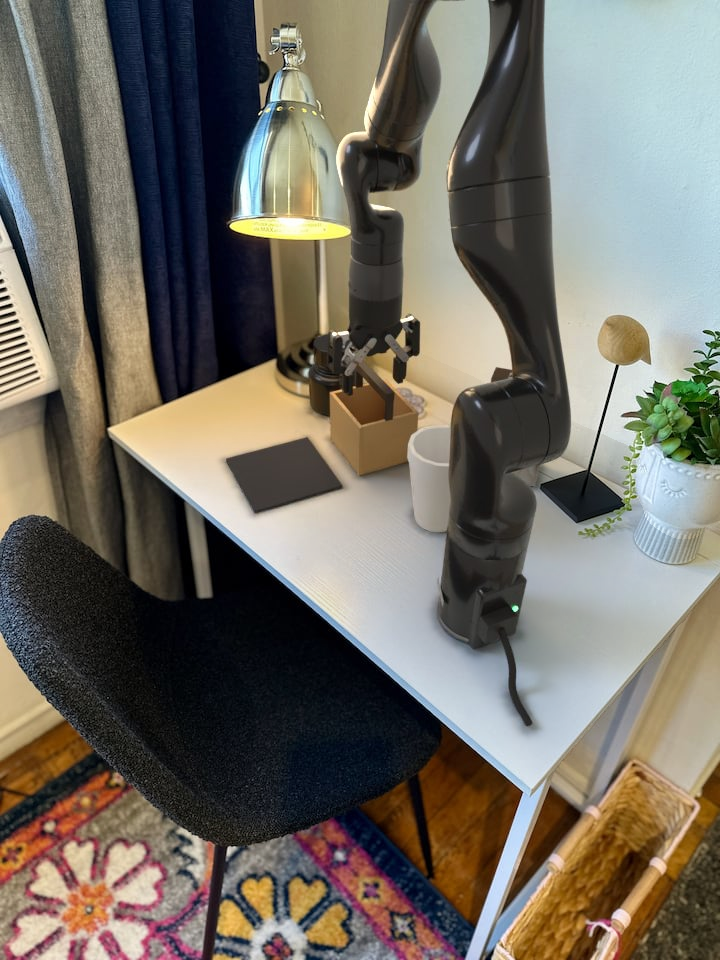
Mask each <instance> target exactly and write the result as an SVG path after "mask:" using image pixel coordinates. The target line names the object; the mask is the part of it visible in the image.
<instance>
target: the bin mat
mask: <svg viewBox="0 0 720 960" xmlns="http://www.w3.org/2000/svg"><path fill="white" fill-rule="evenodd" d="M225 461H226V463H227V465H228V467H229V468H230V470H231V472H232V474H233V476H234V477H235V479H236V482H237V483H238V485H239V486H240V488H241V490H242V492H243V494H244V496H245V498H246V499H247V501H248V504H249V505H250V507H251V508H252V510H253V512H254V514H257V513H260V512H264V511H267V510H269V509H273V508H277V507H280V506H284V505H288V504H291V503H294V502H297V501H301V500H304V499H307V498H311V497H315V496H318V495H322V494H326V493H328V492H331V491H334V490H339V489H341V488H343V484H342V482H341V481H340V480H339V479H338V477H337V476H336V475H335V473H334V472H333V470H332V469H331V468H330V466H329V465H328V464H327V462H326V460H325V459H324V458H323V456H322V455H321V454H320V452H319V451H318V450H317V449H316V447H315V445H314V444H313V443H312V442H311V440H310V439H309V437H308V436H306V437H303V438H299V439H295V440H291V441H288V442H287V441H286V442H283V443H279V444H275V445H272V446H268V447H265V448H260V449H257V450H253V451H249V452H245V453H241V454H238V455H233V456H230V457H226V458H225Z"/></svg>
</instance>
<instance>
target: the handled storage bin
mask: <svg viewBox="0 0 720 960" xmlns="http://www.w3.org/2000/svg"><path fill="white" fill-rule="evenodd" d="M364 380H365V382H367V383H364ZM329 421H330V422H329V423H330V424H329V425H330V427H329V428H330V429H329V431H330V440H331V441H332V442H333V443H334V445H335V447H336V448H337V449H338V451H339V452H340V453H341V454H342V455H343V457H344V458H345V460H346V461H347V462H348V463H349V464H350V466H351V467H352V468H353V470H354V471H355V473H356V474H357V475H358V476H359V477H360V476H364V475H367V474H370V473H373V472H377V471H380V470H383V469H387V468H391V467H394V466H397V465H401V464H404V463H407V462H408V463H409V461H408V459H407V453H408V443H409V440H410V437H411V435H412V434H414V433H415V432H416V431H418V427H419V426H418V425H419V411H418V410H417V409H416V408H415V407H414V406H413V405H412V404H411V403H410V402H409V401H408V400H407V399H406V398H405V397H404V396H403V394H401V392H399V391H398V390H397V389H396V387H394V385H393V384H391V382H390V381H389V380H387V379H386V378H384V379H383V378H382V377H381V376H379V374H377V372H376V371H375V370H374V369H373V368H372V367H371V366H370V365H369V364H368V363H367V362H366V361H365V359H364V360H363V361H362V363H361V364H358V365H357V366H356V368H355V386H354V387H353V395H351V396H347V395H346V393H344V392H343V391H342V390H337V391H333V392H330V415H329Z"/></svg>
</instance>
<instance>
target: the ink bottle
mask: <svg viewBox="0 0 720 960" xmlns="http://www.w3.org/2000/svg"><path fill="white" fill-rule="evenodd" d="M350 342H351V341H350V340H347V341H346V343H345V348H342V358H343V356H344V354H345V349H346V348H347V346H348V345H349V343H350ZM327 349H328V333H325V334H322V335H319V336H317V337H316V338H315V339H314V340H313V363H312V364H311V366H310V368H309V369H308V396H309V397H308V399H309V404H310V407H311V408H312V409H313V410H314V411H316V412H318V413H319V414H322V415H325V416H330V392H333V391H337V390H341V388H340V374H338V375H335V374H334V373H333V372H332V371H331V369H330V368H329V367H328V366H327ZM352 374H353V387H354V386H355V369H354V371H353V372H352Z"/></svg>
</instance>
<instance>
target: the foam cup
mask: <svg viewBox="0 0 720 960" xmlns="http://www.w3.org/2000/svg"><path fill="white" fill-rule="evenodd" d="M450 428H451V425H447V424H446V425H444V424H443V425H441V424H434V425H429V426H425V427H422V428H420V429H417V431H416V432H415V433H414V434H412V435H411V437H410V440H409V443H408V453H407V459H408V467H409V473H410V474H409V476H410V477H409V478H410V485H411V486H410V487H411V498H412V506H413V514H414V516H413V517H414V520H415V522H416V524H417V525H418V526H419V527H420V528H422V529H423V530H426V531H429V532H432V533H444V532H447V526H448V517H449V509H450V490H449V480H448V471H449V455H450Z"/></svg>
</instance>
